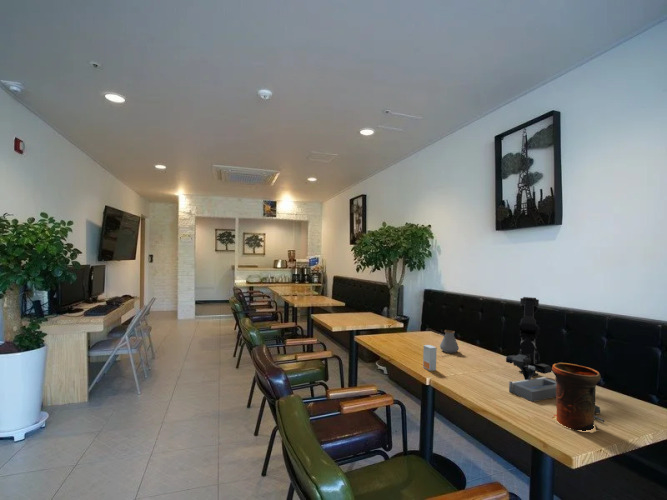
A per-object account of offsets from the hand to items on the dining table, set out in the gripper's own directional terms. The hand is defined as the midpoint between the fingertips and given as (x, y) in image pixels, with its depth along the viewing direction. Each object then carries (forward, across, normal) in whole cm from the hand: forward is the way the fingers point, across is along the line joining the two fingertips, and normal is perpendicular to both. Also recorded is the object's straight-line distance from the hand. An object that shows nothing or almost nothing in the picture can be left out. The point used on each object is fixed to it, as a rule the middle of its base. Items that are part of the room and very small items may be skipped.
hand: (527, 382), depth 159 cm
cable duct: (+2, +8, -3) cm, 9 cm away
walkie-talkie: (+2, +26, -4) cm, 27 cm away
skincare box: (+2, -38, -25) cm, 45 cm away
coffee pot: (+2, -61, +7) cm, 61 cm away
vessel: (+2, +30, -20) cm, 36 cm away
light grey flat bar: (+2, +3, -3) cm, 5 cm away
